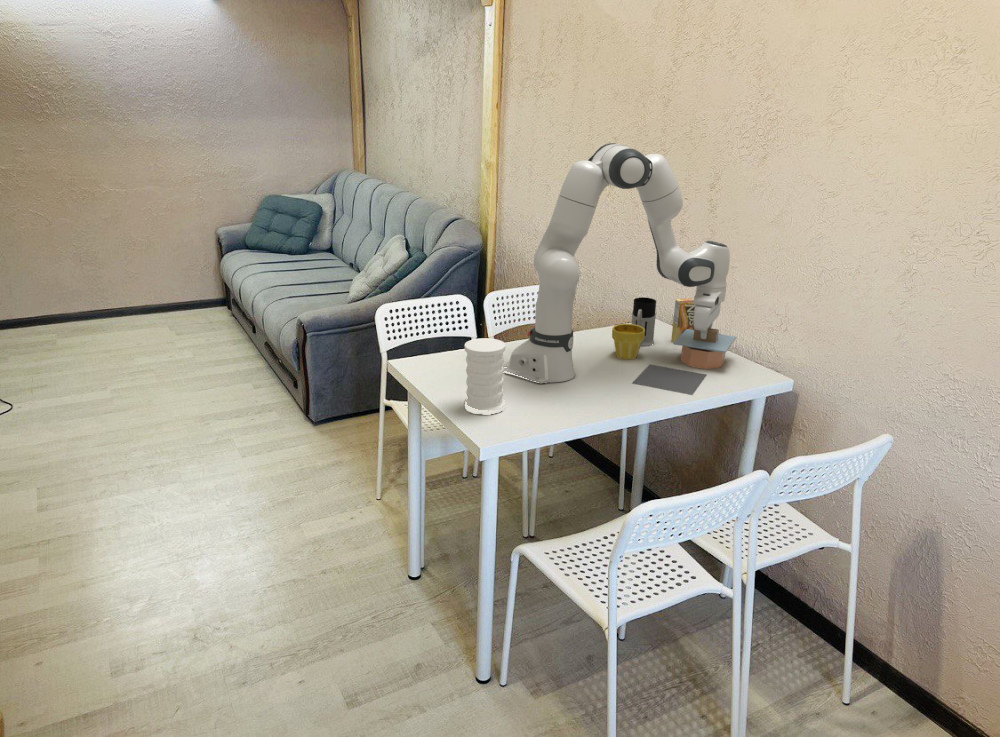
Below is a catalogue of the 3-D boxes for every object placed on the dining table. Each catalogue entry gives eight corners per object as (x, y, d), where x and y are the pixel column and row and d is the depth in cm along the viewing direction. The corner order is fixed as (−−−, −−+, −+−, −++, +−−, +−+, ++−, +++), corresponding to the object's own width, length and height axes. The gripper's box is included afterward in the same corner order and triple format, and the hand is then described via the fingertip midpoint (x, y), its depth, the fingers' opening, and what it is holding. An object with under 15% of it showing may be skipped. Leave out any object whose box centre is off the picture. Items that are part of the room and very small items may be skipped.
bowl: (677, 365, 224) (679, 347, 222) (687, 353, 234) (689, 336, 232) (718, 372, 218) (720, 354, 216) (726, 359, 229) (728, 342, 226)
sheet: (673, 344, 221) (674, 332, 219) (686, 330, 234) (687, 318, 232) (725, 352, 213) (727, 340, 212) (736, 338, 227) (737, 326, 225)
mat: (631, 384, 209) (631, 383, 208) (649, 365, 223) (649, 364, 223) (692, 396, 201) (692, 395, 201) (707, 375, 215) (707, 374, 215)
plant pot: (633, 364, 224) (635, 335, 220) (604, 357, 230) (606, 329, 226) (648, 355, 232) (650, 327, 228) (620, 349, 237) (622, 321, 234)
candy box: (693, 339, 247) (698, 297, 242) (699, 343, 244) (704, 300, 238) (670, 341, 246) (674, 298, 240) (676, 345, 242) (680, 302, 236)
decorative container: (457, 402, 196) (456, 340, 189) (495, 395, 200) (496, 335, 194) (473, 418, 186) (472, 354, 179) (513, 411, 190) (514, 348, 184)
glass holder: (656, 340, 247) (660, 298, 241) (648, 352, 234) (652, 309, 229) (631, 336, 250) (635, 295, 244) (622, 349, 238) (625, 306, 232)
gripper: (707, 285, 228) (703, 326, 233) (692, 300, 211) (687, 343, 216) (727, 287, 225) (722, 329, 230) (713, 303, 208) (708, 347, 213)
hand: (705, 336), depth 223 cm, fingers closed on sheet, 3 cm apart
